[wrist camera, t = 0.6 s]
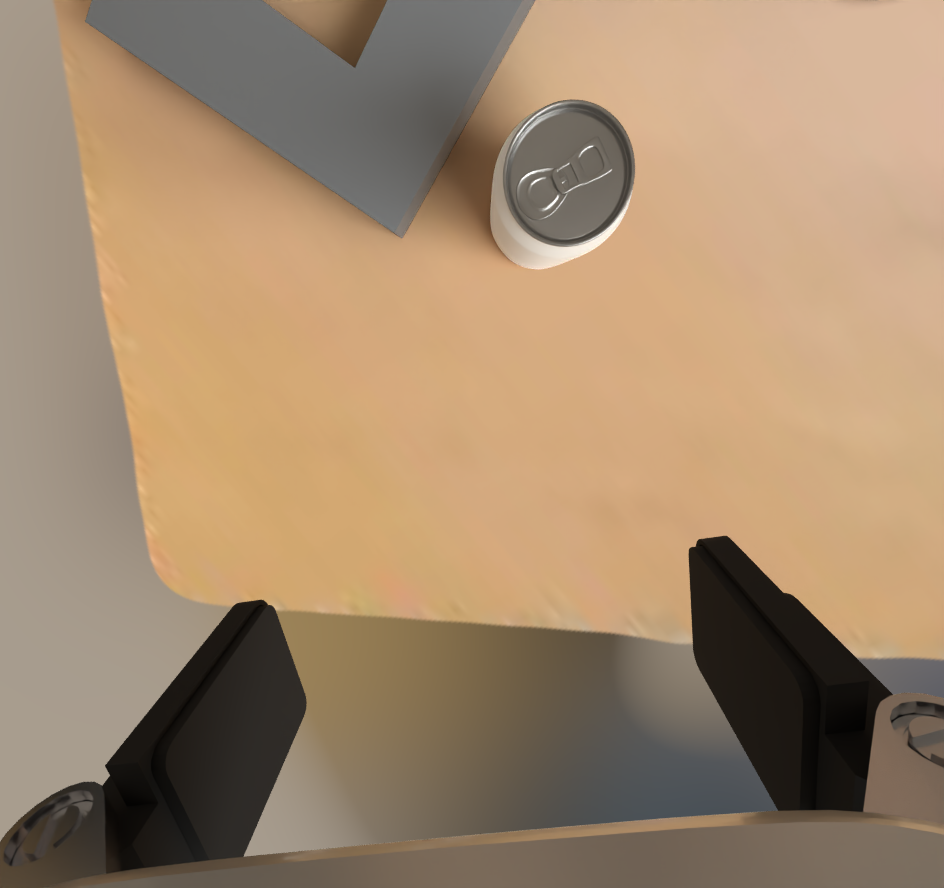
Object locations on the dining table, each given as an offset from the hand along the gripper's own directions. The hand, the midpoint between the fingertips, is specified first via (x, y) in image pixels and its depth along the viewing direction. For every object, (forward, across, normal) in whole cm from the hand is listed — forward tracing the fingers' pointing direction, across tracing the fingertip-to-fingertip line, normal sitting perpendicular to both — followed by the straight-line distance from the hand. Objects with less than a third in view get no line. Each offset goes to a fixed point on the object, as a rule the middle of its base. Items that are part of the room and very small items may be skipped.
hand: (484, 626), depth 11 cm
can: (+26, -5, -11) cm, 29 cm away
